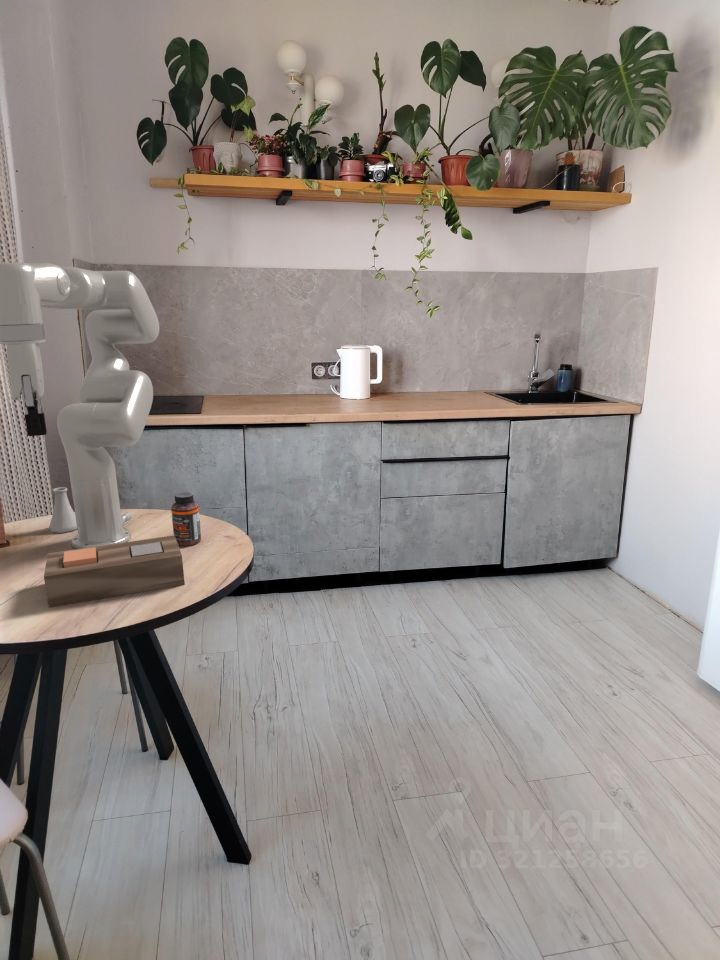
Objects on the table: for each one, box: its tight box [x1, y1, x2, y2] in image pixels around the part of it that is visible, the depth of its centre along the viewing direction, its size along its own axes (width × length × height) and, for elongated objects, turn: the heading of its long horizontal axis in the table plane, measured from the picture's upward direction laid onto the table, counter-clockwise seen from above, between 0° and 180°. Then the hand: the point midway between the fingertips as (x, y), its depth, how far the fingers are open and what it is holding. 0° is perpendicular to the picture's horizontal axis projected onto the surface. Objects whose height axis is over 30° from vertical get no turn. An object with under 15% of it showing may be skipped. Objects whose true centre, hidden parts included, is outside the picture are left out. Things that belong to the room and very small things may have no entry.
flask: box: [48, 486, 77, 534], centre depth 160 cm, size 7×7×10 cm
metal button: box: [131, 542, 163, 557], centre depth 131 cm, size 6×6×5 cm
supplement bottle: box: [170, 491, 202, 547], centre depth 149 cm, size 6×6×11 cm
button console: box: [43, 534, 186, 608], centre depth 129 cm, size 12×24×6 cm, turn 111°
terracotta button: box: [63, 547, 98, 568], centre depth 127 cm, size 6×6×5 cm
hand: (37, 434), depth 125 cm, fingers closed
